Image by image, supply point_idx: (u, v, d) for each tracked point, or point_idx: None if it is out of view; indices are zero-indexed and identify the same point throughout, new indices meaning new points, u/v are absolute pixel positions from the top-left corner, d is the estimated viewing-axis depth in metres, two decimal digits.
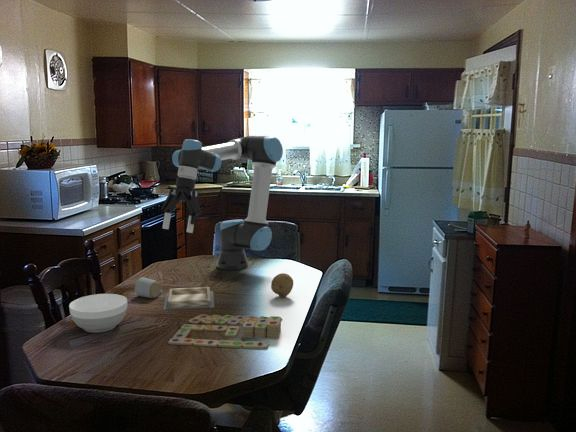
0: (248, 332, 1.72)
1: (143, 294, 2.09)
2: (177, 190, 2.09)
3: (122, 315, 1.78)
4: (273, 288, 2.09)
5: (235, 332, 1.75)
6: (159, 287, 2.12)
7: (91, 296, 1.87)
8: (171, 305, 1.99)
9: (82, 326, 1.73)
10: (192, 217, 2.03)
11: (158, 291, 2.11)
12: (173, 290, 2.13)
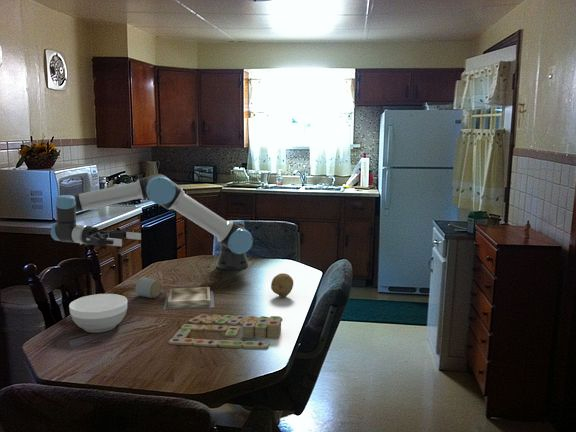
0: (248, 332, 1.72)
1: (144, 294, 2.09)
2: None
3: (122, 315, 1.78)
4: (273, 288, 2.09)
5: (235, 332, 1.75)
6: (160, 287, 2.12)
7: (91, 296, 1.87)
8: (171, 305, 1.99)
9: (82, 326, 1.73)
10: (106, 243, 2.06)
11: (159, 291, 2.12)
12: (173, 290, 2.13)
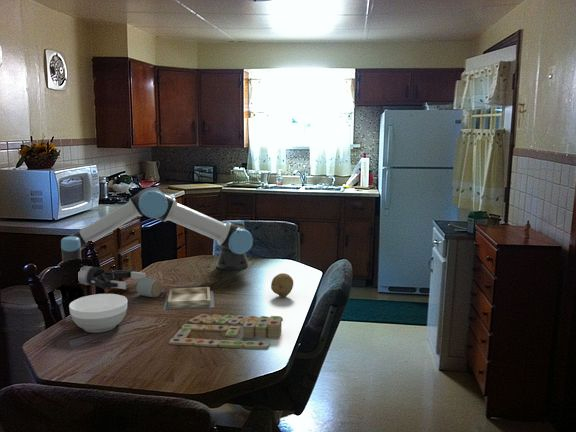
0: (248, 332, 1.72)
1: (145, 293, 2.10)
2: None
3: (122, 315, 1.78)
4: (273, 288, 2.09)
5: (236, 332, 1.75)
6: (161, 286, 2.13)
7: (91, 296, 1.87)
8: (171, 305, 1.99)
9: (82, 326, 1.73)
10: None
11: (160, 290, 2.12)
12: (173, 290, 2.13)
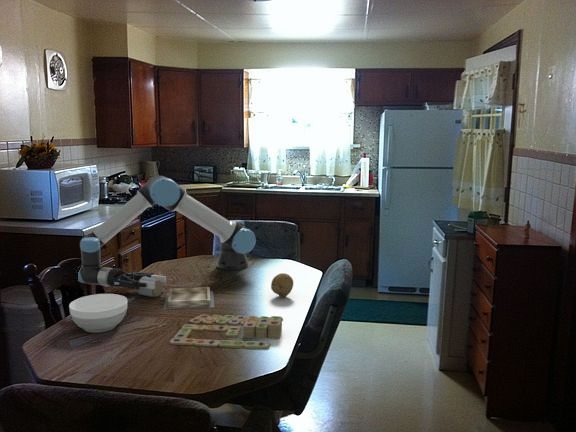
0: (249, 332, 1.72)
1: (145, 293, 2.10)
2: None
3: (122, 315, 1.78)
4: (273, 288, 2.09)
5: (236, 332, 1.75)
6: (161, 286, 2.13)
7: (91, 296, 1.87)
8: (171, 305, 1.99)
9: (82, 326, 1.73)
10: None
11: (160, 290, 2.13)
12: (173, 290, 2.13)
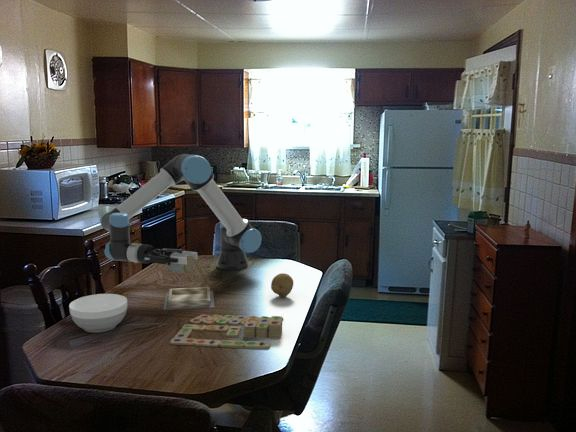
0: (249, 332, 1.72)
1: (177, 269, 2.03)
2: None
3: (122, 315, 1.78)
4: (273, 288, 2.09)
5: (237, 332, 1.75)
6: (193, 262, 2.06)
7: (91, 296, 1.87)
8: (171, 305, 1.99)
9: (82, 326, 1.73)
10: None
11: (192, 266, 2.05)
12: (173, 290, 2.13)
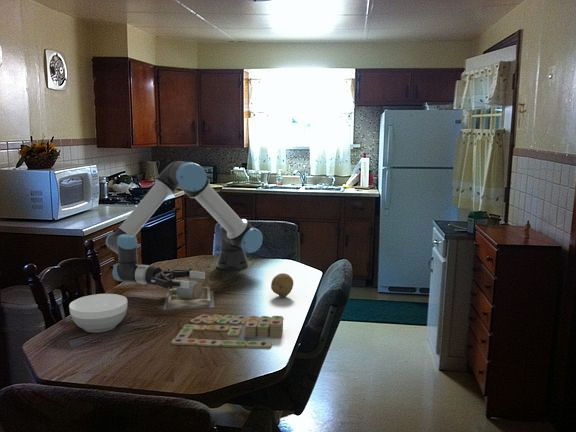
0: (250, 332, 1.72)
1: (185, 296, 2.04)
2: None
3: (122, 315, 1.78)
4: (273, 288, 2.09)
5: (237, 332, 1.75)
6: (201, 288, 2.07)
7: (91, 296, 1.87)
8: (171, 305, 1.99)
9: (82, 326, 1.73)
10: None
11: (200, 292, 2.07)
12: (173, 290, 2.13)
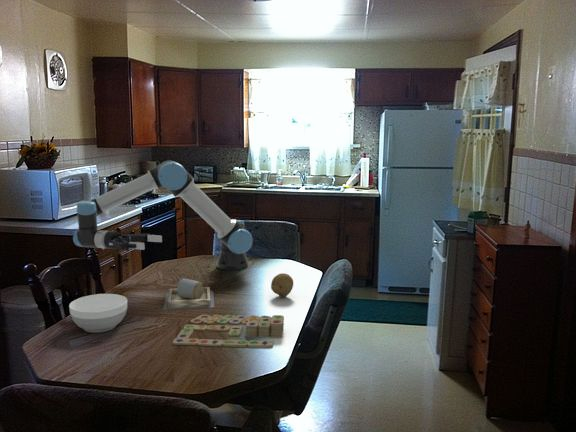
0: (251, 331, 1.73)
1: (186, 295, 2.05)
2: None
3: (122, 315, 1.78)
4: (273, 288, 2.09)
5: (238, 331, 1.76)
6: (201, 288, 2.08)
7: (91, 296, 1.87)
8: (171, 305, 1.99)
9: (82, 326, 1.73)
10: None
11: (200, 292, 2.07)
12: (173, 290, 2.13)
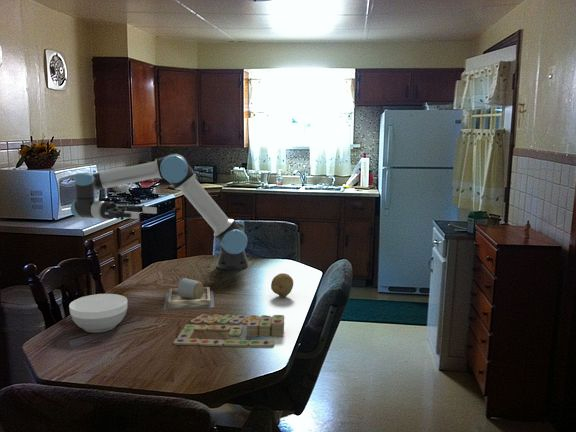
0: (252, 331, 1.73)
1: (186, 295, 2.05)
2: None
3: (122, 315, 1.78)
4: (273, 288, 2.09)
5: (239, 331, 1.76)
6: (202, 288, 2.08)
7: (91, 296, 1.87)
8: (171, 305, 1.99)
9: (82, 326, 1.73)
10: (124, 216, 2.15)
11: (201, 292, 2.08)
12: (173, 290, 2.13)
